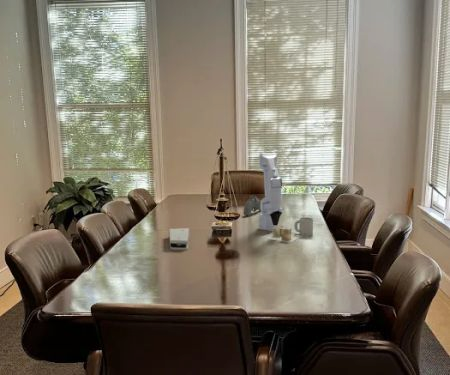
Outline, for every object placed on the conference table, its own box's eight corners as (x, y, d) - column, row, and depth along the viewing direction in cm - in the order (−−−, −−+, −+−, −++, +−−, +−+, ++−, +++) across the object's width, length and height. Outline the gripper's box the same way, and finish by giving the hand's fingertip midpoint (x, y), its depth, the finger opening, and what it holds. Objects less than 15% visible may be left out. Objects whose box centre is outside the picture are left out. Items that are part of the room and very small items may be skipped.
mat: (259, 238, 228) (259, 237, 228) (274, 232, 241) (274, 231, 241) (289, 243, 217) (289, 242, 217) (303, 236, 230) (303, 235, 230)
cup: (312, 236, 230) (312, 220, 229) (293, 235, 232) (294, 219, 231) (312, 233, 237) (313, 217, 236) (294, 232, 239) (294, 216, 238)
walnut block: (272, 228, 231) (279, 225, 236) (272, 235, 231) (279, 232, 237) (279, 229, 228) (286, 226, 234) (279, 236, 229) (286, 233, 235)
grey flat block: (188, 250, 208) (188, 240, 208) (166, 251, 208) (165, 241, 207) (189, 237, 234) (189, 228, 234) (169, 237, 234) (169, 228, 233)
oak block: (281, 240, 222) (281, 228, 221) (284, 238, 225) (284, 227, 225) (288, 240, 220) (288, 229, 219) (291, 239, 224) (291, 227, 223)
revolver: (262, 223, 298) (266, 203, 302) (248, 214, 280) (253, 192, 284) (255, 222, 301) (260, 202, 304) (241, 213, 283) (246, 192, 286)
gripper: (274, 202, 218) (274, 228, 220) (288, 198, 230) (288, 223, 232) (263, 201, 223) (263, 227, 225) (277, 197, 234) (277, 222, 236)
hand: (275, 225), depth 229 cm, fingers closed
